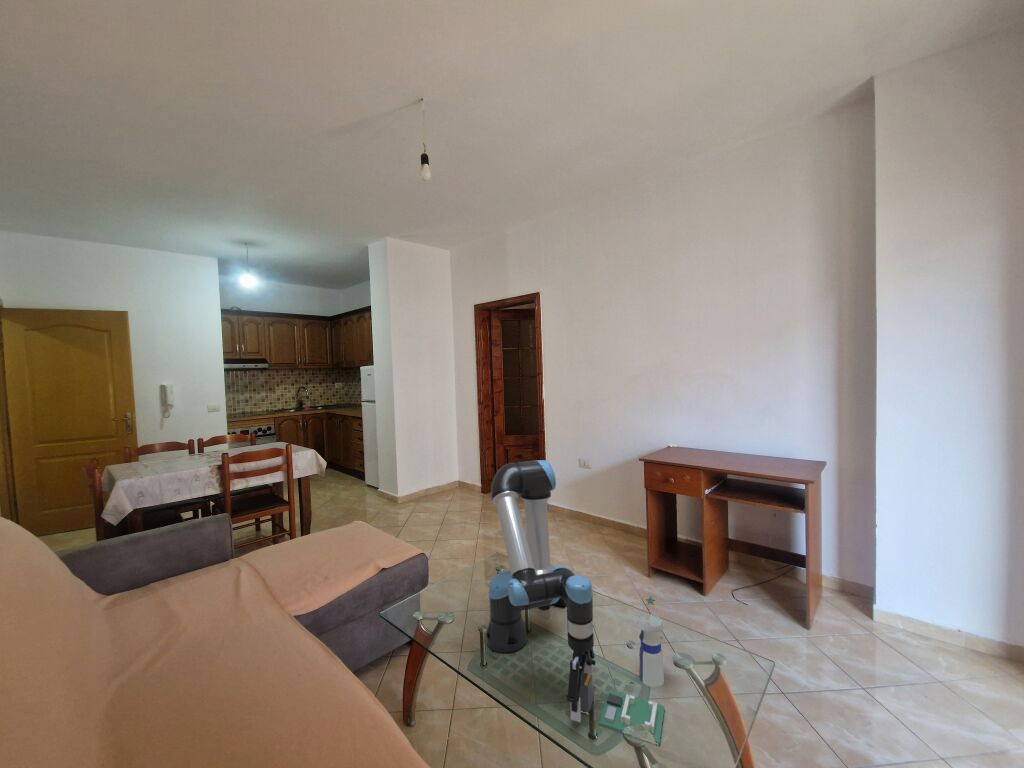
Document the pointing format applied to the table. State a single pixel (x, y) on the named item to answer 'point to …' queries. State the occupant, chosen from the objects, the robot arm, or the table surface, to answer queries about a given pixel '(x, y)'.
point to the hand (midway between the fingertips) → (582, 702)
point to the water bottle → (651, 650)
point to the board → (631, 714)
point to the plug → (586, 692)
